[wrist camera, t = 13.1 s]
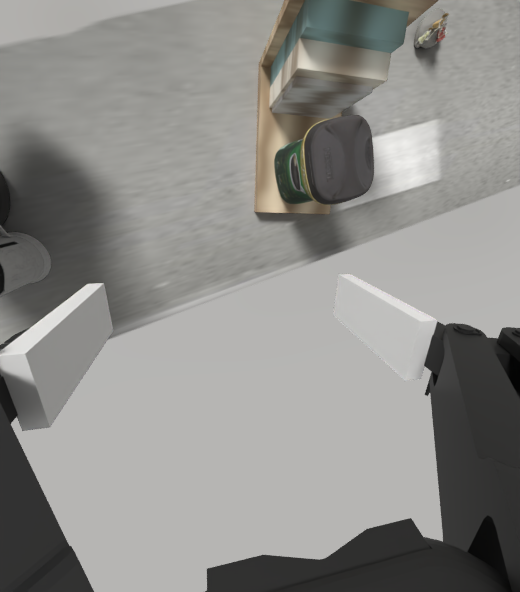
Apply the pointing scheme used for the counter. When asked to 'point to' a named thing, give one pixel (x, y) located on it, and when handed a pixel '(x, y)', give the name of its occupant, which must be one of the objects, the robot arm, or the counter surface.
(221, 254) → the counter surface
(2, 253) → the glass holder
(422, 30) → the figurine
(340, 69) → the shelf
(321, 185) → the coffee jar
